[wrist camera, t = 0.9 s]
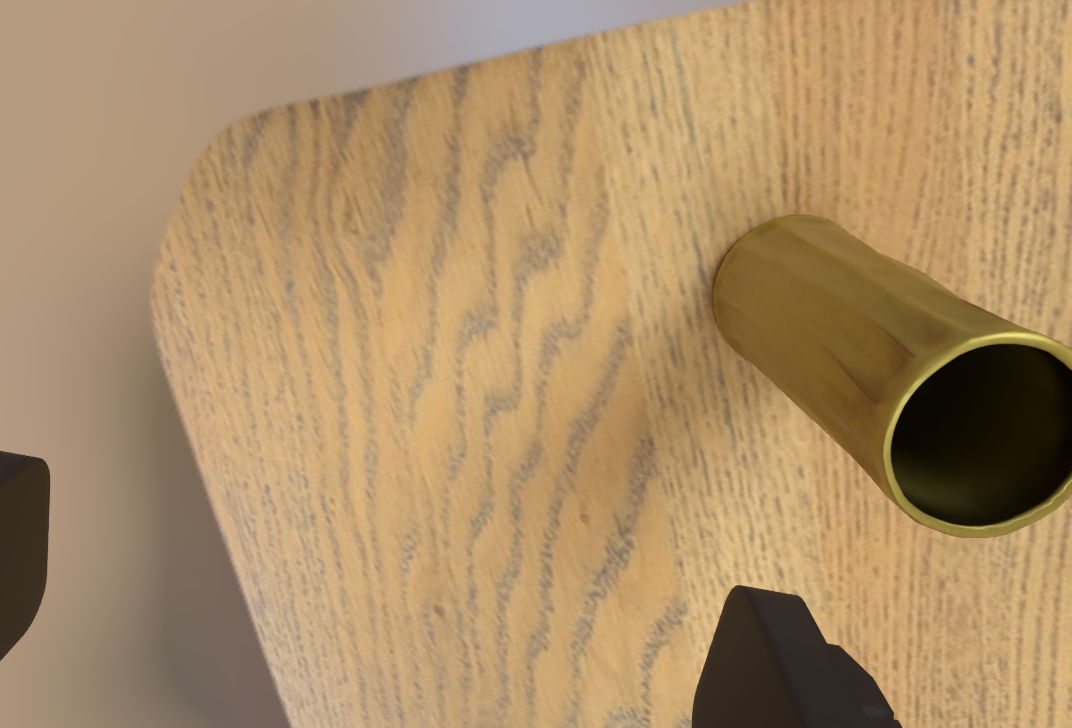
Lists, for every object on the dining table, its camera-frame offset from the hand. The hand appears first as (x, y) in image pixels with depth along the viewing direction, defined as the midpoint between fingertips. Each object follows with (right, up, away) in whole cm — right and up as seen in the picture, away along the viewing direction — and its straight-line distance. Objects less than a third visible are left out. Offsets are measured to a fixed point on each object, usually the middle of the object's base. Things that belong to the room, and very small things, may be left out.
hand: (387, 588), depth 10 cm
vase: (+12, +5, +23) cm, 26 cm away
